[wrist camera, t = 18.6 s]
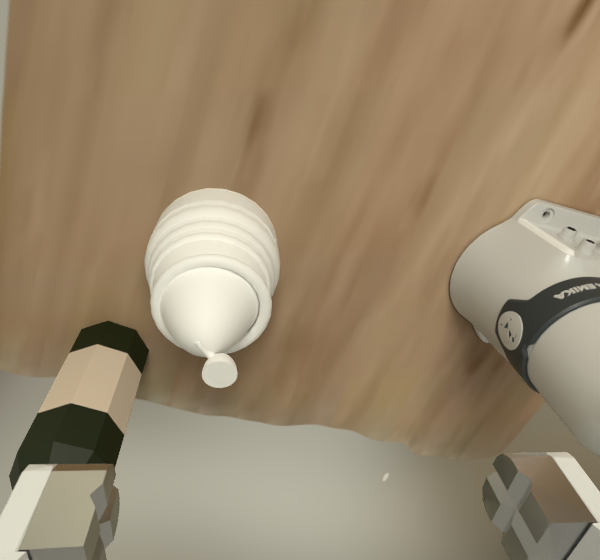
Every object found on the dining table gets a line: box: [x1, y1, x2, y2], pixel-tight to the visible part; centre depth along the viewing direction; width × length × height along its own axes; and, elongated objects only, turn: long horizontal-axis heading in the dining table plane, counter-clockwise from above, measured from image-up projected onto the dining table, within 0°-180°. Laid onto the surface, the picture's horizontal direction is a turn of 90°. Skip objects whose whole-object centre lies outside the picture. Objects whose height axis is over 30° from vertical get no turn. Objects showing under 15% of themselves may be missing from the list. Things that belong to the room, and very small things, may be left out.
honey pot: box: [145, 188, 280, 388], centre depth 40 cm, size 13×13×18 cm
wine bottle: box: [9, 321, 149, 491], centre depth 40 cm, size 8×8×30 cm
